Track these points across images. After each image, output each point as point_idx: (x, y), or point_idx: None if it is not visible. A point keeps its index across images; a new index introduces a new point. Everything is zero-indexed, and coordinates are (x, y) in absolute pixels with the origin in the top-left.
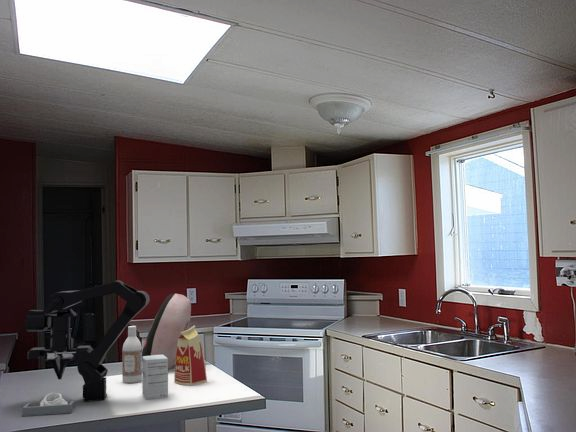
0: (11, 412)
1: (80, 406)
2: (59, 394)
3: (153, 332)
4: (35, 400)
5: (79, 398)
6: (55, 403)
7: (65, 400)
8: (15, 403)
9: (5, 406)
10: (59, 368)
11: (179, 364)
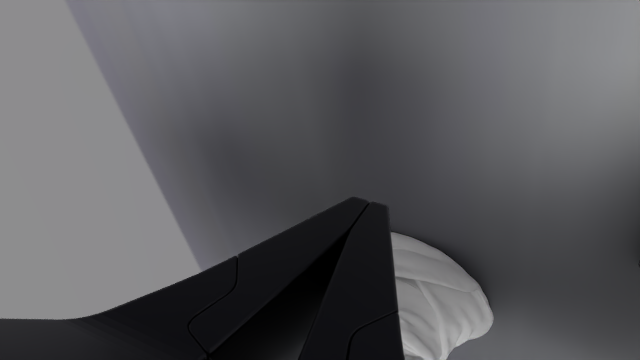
0: (211, 249)
1: (584, 354)
2: (418, 354)
3: None
4: (237, 39)
5: (626, 128)
6: (407, 351)
7: (471, 330)
8: (147, 74)
9: (130, 122)
10: (293, 315)
11: None
